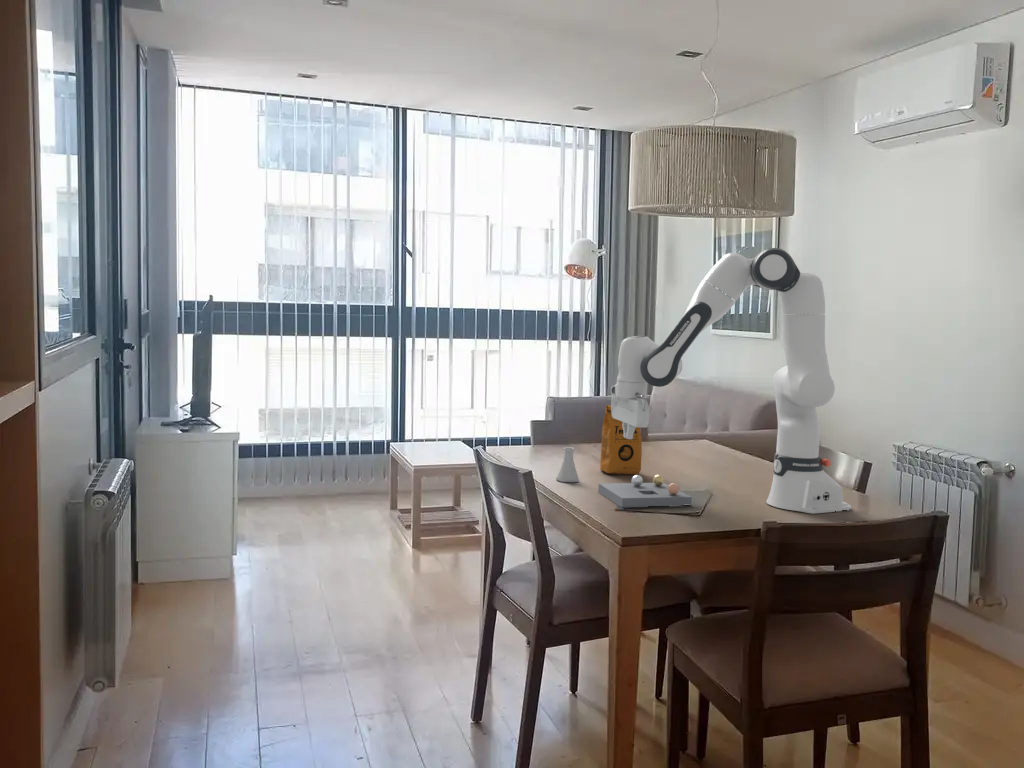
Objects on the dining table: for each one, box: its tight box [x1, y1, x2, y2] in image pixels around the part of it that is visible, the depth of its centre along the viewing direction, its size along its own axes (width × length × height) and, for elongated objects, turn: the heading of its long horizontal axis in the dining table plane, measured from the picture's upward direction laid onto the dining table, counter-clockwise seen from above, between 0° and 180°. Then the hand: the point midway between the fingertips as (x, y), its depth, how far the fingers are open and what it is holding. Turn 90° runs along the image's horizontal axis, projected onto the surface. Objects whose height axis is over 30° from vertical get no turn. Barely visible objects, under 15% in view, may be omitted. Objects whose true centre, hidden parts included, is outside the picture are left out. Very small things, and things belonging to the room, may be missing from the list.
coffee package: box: [599, 404, 643, 476], centre depth 265 cm, size 10×12×22 cm
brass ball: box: [652, 474, 665, 486], centre depth 237 cm, size 3×3×3 cm
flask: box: [555, 446, 580, 483], centre depth 251 cm, size 7×7×10 cm
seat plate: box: [597, 482, 692, 508], centre depth 230 cm, size 20×18×2 cm
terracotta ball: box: [668, 482, 680, 495], centre depth 226 cm, size 3×3×3 cm
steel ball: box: [631, 474, 644, 486], centre depth 235 cm, size 3×3×3 cm
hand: (628, 438), depth 241 cm, fingers closed
